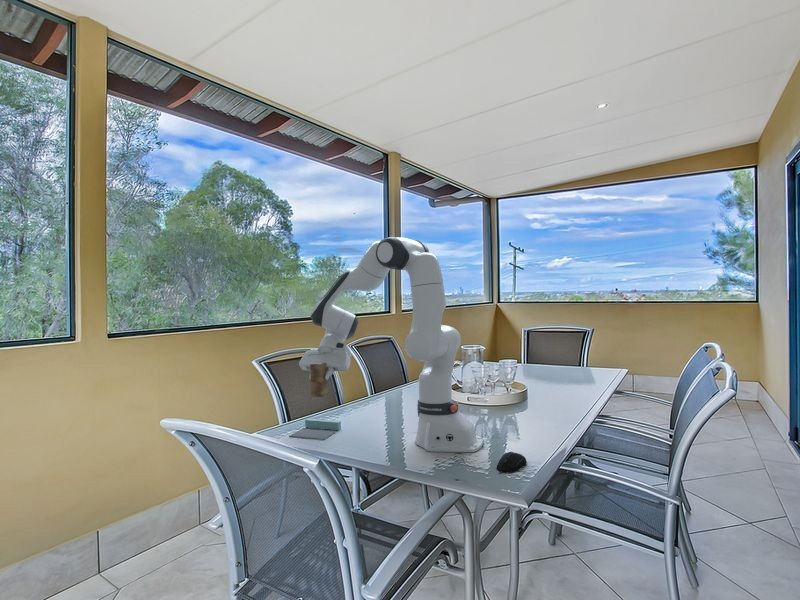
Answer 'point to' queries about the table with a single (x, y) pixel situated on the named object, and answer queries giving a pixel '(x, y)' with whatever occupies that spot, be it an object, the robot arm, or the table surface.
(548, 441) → the table surface
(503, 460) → the gaming mouse
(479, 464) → the table surface
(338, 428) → the teal rail
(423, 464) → the table surface
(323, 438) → the rubber mat
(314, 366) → the walnut block
